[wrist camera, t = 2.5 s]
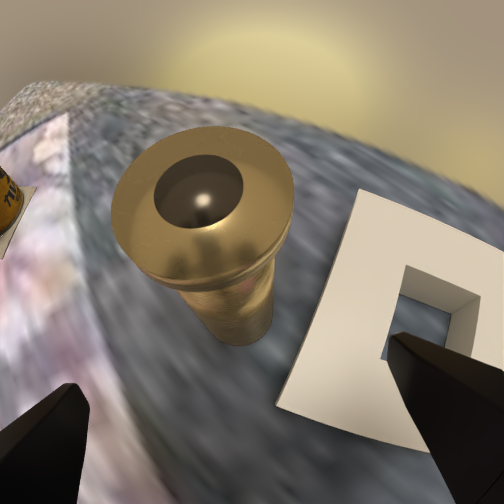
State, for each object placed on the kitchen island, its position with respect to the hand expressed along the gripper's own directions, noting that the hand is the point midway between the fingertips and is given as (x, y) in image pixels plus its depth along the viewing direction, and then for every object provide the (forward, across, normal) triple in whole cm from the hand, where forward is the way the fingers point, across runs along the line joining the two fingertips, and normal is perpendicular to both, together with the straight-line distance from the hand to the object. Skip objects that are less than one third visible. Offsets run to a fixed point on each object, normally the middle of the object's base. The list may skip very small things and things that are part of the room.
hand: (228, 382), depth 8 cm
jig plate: (+9, -11, +8) cm, 16 cm away
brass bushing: (+12, 0, +5) cm, 13 cm away
